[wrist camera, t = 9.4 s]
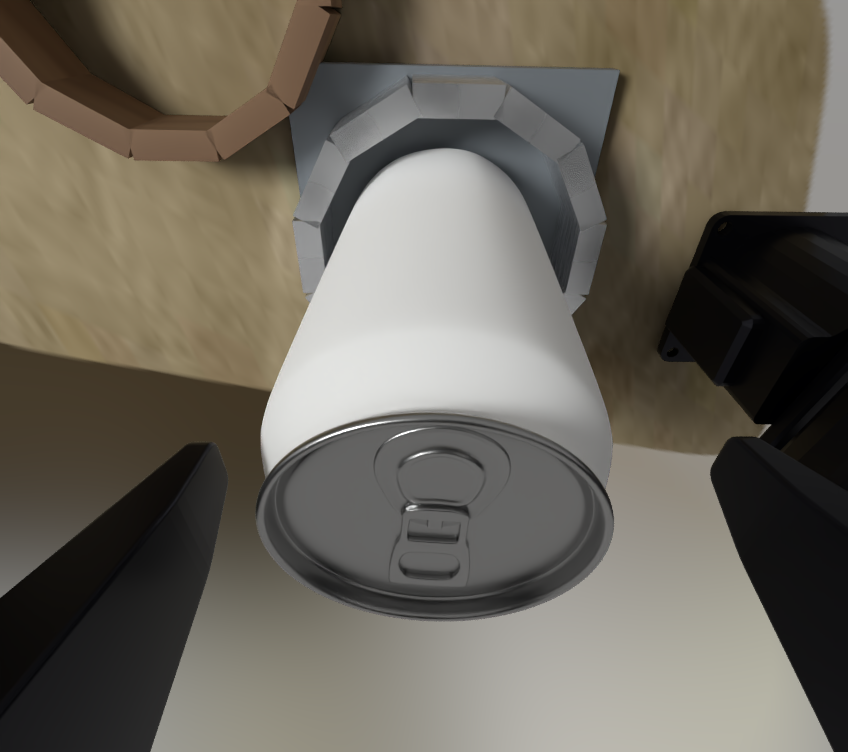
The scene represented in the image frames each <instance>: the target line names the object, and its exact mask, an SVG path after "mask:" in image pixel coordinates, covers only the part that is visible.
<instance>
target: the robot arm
mask: <svg viewBox="0 0 848 752" xmlns="http://www.w3.org/2000/svg"><path fill="white" fill-rule="evenodd" d="M724 222H727V224H726V226H725V227H724V229H722V230H721V231H718V228H719V227H720V225H722V224H723V223H724ZM665 324H666V328H665V330H664V333H663V335H662V338H661V340H660V343H659V345H658V348H657V352H658V354H659V355H660V357H661V358H662V359H663V360H664V361H668V362H696V363H697V364H698V365H699V366H700V368H701V369H702V370H703V371H704V372H705V374H706V375H707V376H708V377H709V378H710V380H711V381H712V382H713V383H714V384H715V385H716V386H724V388H725V389H726V390H727V391H728V392H729V393H730V395H731V396H732V397H733V398H734V399H735V400H736V402H737V403H738V404H739V405H740V406H741V408H742V409H743V410H744V411H745V412H746V413H747V415H748V416H749V417H750V418H751V419H752V420H753V422H754V423H755V424H772V425H771V426H770V427H769V428H768V429H767V430H766V431H765V432H764V433H763V434H762V436H761V437H760V438H757V437H731V438H730V439H728V440H727V441H726V443H725V444H724V446H723V448H722V450H721V451H720V453H719V455H718V456H717V458H716V460H715V461H714V463H713V465H712V467H711V472H710V476H711V481H712V484H713V487H714V489H715V492H716V494H717V497H718V500H719V503H720V505H721V508H722V511H723V514H724V517H725V519H726V522H727V525H728V527H729V530H730V533H731V536H732V538H733V541H734V544H735V547H736V549H737V551H738V554H739V557H740V559H741V561H742V563H743V565H744V568H745V570H746V572H747V574H748V576H749V578H750V580H751V583H752V585H753V587H754V589H755V591H756V593H757V595H758V597H759V599H760V601H761V603H762V605H763V607H764V609H765V611H766V613H767V615H768V617H769V620H770V622H771V623H772V626H773V628H774V630H775V632H776V634H777V636H778V638H779V640H780V642H781V644H782V646H783V648H784V650H785V652H786V655H787V657H788V659H789V661H790V663H791V665H792V667H793V669H794V671H795V673H796V675H797V677H798V679H799V681H800V683H801V685H802V687H803V689H804V691H805V694H806V696H807V698H808V700H809V702H810V704H811V706H812V708H813V710H814V712H815V714H816V716H817V718H818V720H819V722H820V725H821V726H822V729H823V730H824V733H825V735H826V737H827V739H828V741H829V743H830V745H831V747H832V749H833V751H834V752H848V213H828V212H827V213H826V212H822V213H821V212H748V211H723V212H719V213H717V214H715V215H714V216H713V217H711V218H710V219H709V221H708V223H707V224H706V227H705V229H704V232H703V234H702V237H701V239H700V242H699V244H698V247H697V249H696V252H695V254H694V257H693V259H692V262H691V264H690V267H689V269H688V270H687V271H686V272H685V275H684V277H683V280H682V282H681V285H680V287H679V290H678V292H677V295H676V298H675V300H674V303H673V305H672V308H671V310H670V313H669V315H668V318H667V320H666V323H665ZM671 348H674V349H673V350H671V351H670V352H668V350H670V349H671ZM227 485H228V475H227V471H226V468H225V466H224V463H223V460H222V457H221V454H220V452H219V449H218V447H217V445H216V444H215V443H214V442H191V443H188V444H186V445H185V446H183V447H182V448H181V449H180V450H179V451H177V452H176V453H175V454H174V455H173V456H171V457H170V458H169V459H168V460H167V461H165V462H164V463H163V464H162V465H160V466H159V467H158V468H157V469H156V470H154V471H153V472H152V473H151V474H150V475H148V476H147V477H146V478H145V479H144V480H142V481H141V482H140V483H139V484H138V485H137V486H135V487H134V488H133V489H131V490H130V491H129V492H128V493H127V494H125V495H124V496H123V497H122V498H121V499H119V500H118V501H117V502H116V503H115V504H113V505H112V506H111V507H110V508H109V509H107V510H106V511H105V512H104V513H102V514H101V515H100V516H99V517H98V518H96V519H95V520H94V521H93V522H92V523H90V524H89V525H88V526H87V527H86V528H84V529H83V530H82V531H81V532H80V533H78V534H77V535H76V536H75V537H73V538H72V539H71V540H70V541H69V542H67V543H66V544H65V545H64V546H63V547H61V548H60V549H59V550H58V551H57V552H55V553H54V554H53V555H52V556H51V557H49V558H48V559H47V560H46V561H45V562H43V563H42V564H41V565H40V566H39V567H37V568H36V569H35V570H34V571H32V572H31V573H30V574H29V575H28V576H26V577H25V578H24V579H23V580H21V581H20V582H19V583H18V584H17V585H16V586H14V587H13V588H12V589H11V590H9V591H8V592H7V593H6V594H5V595H3V596H2V597H1V598H0V752H150V751H151V748H152V745H153V742H154V739H155V736H156V732H157V729H158V726H159V723H160V720H161V717H162V714H163V711H164V708H165V705H166V702H167V699H168V696H169V693H170V690H171V687H172V684H173V681H174V678H175V675H176V672H177V669H178V666H179V662H180V659H181V657H182V653H183V650H184V647H185V644H186V641H187V638H188V635H189V632H190V629H191V626H192V623H193V620H194V617H195V614H196V611H197V608H198V605H199V602H200V599H201V596H202V593H203V590H204V586H205V584H206V580H207V577H208V574H209V570H210V566H211V562H212V558H213V553H214V548H215V544H216V539H217V534H218V529H219V524H220V520H221V515H222V510H223V505H224V501H225V496H226V491H227Z"/></svg>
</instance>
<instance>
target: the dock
mask: <svg viewBox="0 0 848 752" xmlns="http://www.w3.org/2000/svg"><path fill="white" fill-rule="evenodd" d="M619 72H620V70H617V69H613V68H574V67H530V66H486V65H442V64H397V63H353V62H321V63H320V64H319V67H318V69H317V72H316V74H315V77H314V79H313V82H312V85H311V87H310V90H309V92H308V95H307V97H306V100H305V101H304V102H303V103H301V104H302V105H301V106H300V107H298V108H297V109H296V110H295V111H294V112H292V113H291V114H290V115H289V118H290V126H291V133H292V140H293V147H294V154H295V162H296V169H297V176H298V183H299V190H300V201H299V203H298V205H297V208H296V210H295V212H294V214H293V216H294V219H293V221H292V222H293V228H294V235H295V241H296V248H297V254H298V261H299V267H300V274H301V281H302V287H303V293H307V294H306V299H307V300H308V301H309V302H311V300H312V297H313V295H314V293H315V291H316V289H317V286H318V284H319V282H320V280H321V277H322V275H323V273H324V271H325V268H326V266H327V264H328V262H329V260H330V257H331V255H332V253H333V251H334V249H335V246H336V244H337V242H338V240H339V237H340V235H341V233H342V231H343V229H344V227H345V224H346V222H347V220H348V218H349V216H350V214H351V212H352V210H353V207H354V205H355V203H356V201H357V200H358V198H359V196H360V194H361V193H362V191H363V189H364V188H365V187H366V185H367V184H368V183H369V181H370V180H371V179H372V178H373V177H374V176H375V175H376V174H377V173H378V172H379V171H380V170H381V169H383V168H384V167H385V166H387V165H388V164H390V163H391V162H393V161H394V160H396V159H398V158H400V157H402V156H405V155H408V154H411V153H414V152H418V151H423V150H429V149H439V148H451V149H460V150H466V151H469V152H473V153H475V154H478V155H480V156H482V157H484V158H485V159H487V160H489V161H490V162H492V163H493V164H495V165H496V166H497V167H499V168H500V169H501V170H502V171H503V172H504V173H506V174H507V175H508V177H509V178H510V179H511V180H512V181H513V182H514V184H515V185H516V186H517V188H518V189H519V191H520V192H521V194H522V196H523V198H524V200H525V202H526V204H527V206H528V208H529V211H530V213H531V215H532V218H533V220H534V222H535V225H536V227H537V230H538V232H539V235H540V237H541V240H542V242H543V245H544V247H545V250H546V252H547V255H548V257H549V260H550V262H551V265H552V267H553V270H554V272H555V275H556V277H557V280H558V283H559V285H560V288H561V290H562V293H563V295H564V298H565V300H566V303H567V305H568V308H569V310H570V313H571V315H572V314H573V313H574V312H575V311H576V309H577V308H578V307H579V306H580V305H581V304H582V303H583V302H584V301H585V300H586V298H585V296H584V295H589V291H590V287H591V283H592V280H593V276H594V272H595V268H596V264H597V261H598V257H599V253H600V249H601V246H602V242H603V238H604V234H605V230H606V227H607V224H606V223H605V222H604V221H605V220H607V218H606V214H605V211H604V208H603V204H602V201H601V198H600V195H599V191H598V188H597V185H596V182H595V174H596V170H597V166H598V162H599V157H600V153H601V149H602V144H603V140H604V136H605V132H606V127H607V123H608V119H609V114H610V110H611V106H612V102H613V97H614V93H615V89H616V84H617V80H618V76H619Z"/></svg>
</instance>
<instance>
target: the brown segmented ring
mask: <svg viewBox="0 0 848 752" xmlns="http://www.w3.org/2000/svg"><path fill="white" fill-rule="evenodd" d="M331 7H339V8H342V0H297V2H296V5H295V7H294V10H293V13H292V16H291V19H290V22H289V25H288V28H287V31H286V34H285V37H284V40H283V42H282V45H281V48H280V51H279V54H278V57H277V60H276V63H275V66H274V69H273V72H272V75H271V77H270V80H269V83H268V86H267V88H265V89H264V90H263V91H261V92H260V93H258V94H257V95H256V96H254V97H253V98H252V99H250V100H249V101H247V102H246V103H245V104H243V105H242V106H241V107H239V108H238V109H236V110H235V111H234V112H232V113H231V114H230V115H228V116H199V115H164V114H162V113H160V112H159V111H157V110H155V109H153V108H151V107H150V106H148V105H146V104H144V103H143V102H141V101H139V100H137V99H135V98H134V97H132V96H130V95H128V94H126V93H125V92H123V91H121V90H119V89H118V88H116V87H114V86H112V85H110V84H109V83H107V82H105V81H103V80H101V79H100V78H98V77H96V76H94V75H93V74H91V73H90V72H89V71H88V70H87V68H86V67H85V66H84V65H83V64H82V62H81V61H80V60H79V59H78V58H77V56H76V55H75V54H74V53H73V52H72V50H71V49H70V48H69V47H68V46H67V45H66V43H65V42H64V41H63V40H62V39H61V37H60V36H59V35H58V34H57V33H56V31H55V30H54V29H53V28H52V27H51V25H50V24H49V23H48V22H47V21H46V20H45V18H44V17H43V16H42V15H41V14H40V12H39V11H38V10H37V9H36V8H35V6H34V5H33V4H32V3H31V2H30V0H0V77H1V78H2V79H3V80H4V81H5V82H6V83H7V84H8V85H9V86H10V87H11V88H12V90H13V91H14V92H15V93H16V94H17V95H18V96H19V97H20V98H21V99H22V100H23V101H24V102H25V103H26V104H31V103H34V107H33V110H35V111H37V112H39V113H41V114H43V115H45V116H47V117H49V118H51V119H53V120H54V121H56V122H58V123H60V124H62V125H64V126H66V127H68V128H70V129H72V130H74V131H76V132H78V133H80V134H82V135H84V136H85V137H87V138H89V139H91V140H93V141H95V142H97V143H99V144H101V145H103V146H105V147H107V148H109V149H111V150H113V151H114V152H116V153H118V154H120V155H122V156H124V157H126V158H130V157H132V156H133V157H134V160H149V161H214V162H219V161H220V160H222V159H224V160H225V159H226V158H228V157H229V156H231V155H232V154H234V153H235V152H237V151H238V150H239V149H241V148H242V147H244V146H245V145H247V144H248V143H250V142H251V141H252V140H254V139H255V138H257V137H258V136H260V135H261V134H263V133H264V132H265V131H267V130H268V129H270V128H271V127H273V126H274V125H276V124H277V123H278V122H280V121H281V120H283V119H284V118H286V117H287V116H289V115H290V114H291V113H292V112H294V111H295V110H296V109H297V108H298V107H300V106H301V105H302V104H301V103H303V102H304V101H305V100H306V97H307V95H308V92H309V90H310V87H311V85H312V82H313V79H314V77H315V74H316V72H317V69H318V67H319V64H320V63H321V62H323V60H324V57H325V55H326V52H327V50H328V47H329V45H330V42H331V40H332V37H333V34H334V32H335V29H336V27H337V24H338V22H339V19H340V17H341V14H340V13H338V12H337V11H335V10H334V9H333V8H331Z"/></svg>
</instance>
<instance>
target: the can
mask: <svg viewBox="0 0 848 752" xmlns="http://www.w3.org/2000/svg"><path fill="white" fill-rule="evenodd" d="M612 448H613V442H612V432H611V427H610V422H609V418H608V414H607V410H606V407H605V404H604V401H603V398H602V395H601V392H600V389H599V386H598V383H597V381H596V378H595V376H594V373H593V370H592V368H591V365H590V362H589V360H588V357H587V354H586V352H585V349H584V347H583V344H582V341H581V339H580V336H579V334H578V331H577V328H576V326H575V323H574V321H573V318H572V316H571V313H570V310H569V308H568V305H567V303H566V300H565V298H564V295H563V293H562V290H561V288H560V285H559V283H558V280H557V277H556V275H555V272H554V270H553V267H552V265H551V262H550V260H549V257H548V255H547V252H546V250H545V247H544V245H543V242H542V240H541V237H540V235H539V232H538V230H537V227H536V225H535V222H534V220H533V218H532V215H531V213H530V211H529V208H528V206H527V204H526V202H525V200H524V198H523V196H522V194H521V192H520V191H519V189H518V188H517V186H516V185H515V184H514V182H513V181H512V180H511V179H510V178H509V177H508V175H507V174H506V173H504V172H503V171H502V170H501V169H500V168H499V167H497V166H496V165H495V164H493V163H492V162H490V161H489V160H487V159H485V158H484V157H482V156H480V155H478V154H475V153H473V152H469V151H466V150H460V149H451V148H439V149H429V150H423V151H418V152H414V153H411V154H408V155H405V156H402V157H400V158H398V159H396V160H394V161H393V162H391V163H390V164H388V165H387V166H385V167H384V168H383V169H381V170H380V171H379V172H378V173H377V174H376V175H375V176H374V177H373V178H372V179H371V180H370V181H369V183H368V184H367V185H366V187H365V188H364V189H363V191H362V193H361V194H360V196H359V198H358V200H357V201H356V203H355V205H354V207H353V210H352V212H351V214H350V216H349V218H348V220H347V222H346V224H345V227H344V229H343V231H342V233H341V235H340V237H339V240H338V242H337V244H336V246H335V249H334V251H333V253H332V255H331V257H330V260H329V262H328V264H327V266H326V268H325V271H324V273H323V275H322V277H321V280H320V282H319V284H318V286H317V289H316V291H315V293H314V295H313V297H312V300H311V302H310V304H309V306H308V309H307V311H306V313H305V315H304V318H303V320H302V322H301V325H300V327H299V329H298V331H297V334H296V336H295V338H294V340H293V343H292V345H291V347H290V350H289V352H288V354H287V357H286V359H285V361H284V363H283V366H282V368H281V370H280V373H279V375H278V378H277V380H276V383H275V385H274V388H273V390H272V393H271V395H270V398H269V401H268V404H267V407H266V411H265V414H264V418H263V422H262V428H261V454H262V460H263V467H264V472H265V477H266V479H265V481H264V483H263V485H262V487H261V489H260V492H259V495H258V498H257V503H256V524H257V529H258V532H259V535H260V538H261V540H262V542H263V544H264V546H265V548H266V550H267V551H268V553H269V554H270V555H271V557H272V558H273V559H274V560H275V562H276V563H277V564H278V565H279V566H280V567H281V568H282V569H283V570H284V571H285V572H286V573H288V574H289V575H290V576H291V577H293V578H294V579H295V580H297V581H298V582H299V583H301V584H303V585H304V586H306V587H307V588H309V589H311V590H313V591H314V592H316V593H318V594H320V595H322V596H324V597H326V598H328V599H331V600H333V601H335V602H338V603H341V604H343V605H346V606H349V607H352V608H355V609H359V610H362V611H366V612H369V613H374V614H378V615H383V616H388V617H394V618H401V619H410V620H420V621H465V620H477V619H485V618H491V617H497V616H502V615H507V614H511V613H515V612H519V611H522V610H526V609H529V608H531V607H535V606H537V605H540V604H542V603H545V602H547V601H549V600H552V599H554V598H556V597H557V596H560V595H561V594H563V593H565V592H566V591H568V590H570V589H571V588H573V587H574V586H576V585H577V584H579V583H580V582H581V581H583V580H584V579H585V578H586V577H587V576H588V575H589V574H590V573H591V572H592V571H593V570H594V569H595V568H596V567H597V566H598V565H599V563H600V562H601V560H602V559H603V557H604V556H605V554H606V552H607V550H608V548H609V545H610V543H611V540H612V535H613V530H614V516H613V510H612V505H611V502H610V499H609V497H608V494H607V493H606V490H605V488H606V484H607V480H608V477H609V471H610V466H611V460H612Z"/></svg>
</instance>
